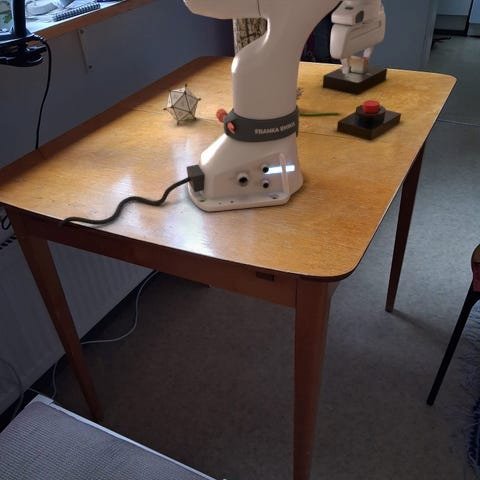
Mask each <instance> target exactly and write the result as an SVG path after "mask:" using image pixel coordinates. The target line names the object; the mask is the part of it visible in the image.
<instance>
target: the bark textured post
mask: <svg viewBox="0 0 480 480" xmlns="http://www.w3.org/2000/svg"><path fill="white" fill-rule="evenodd" d="M266 22H267V20H266V19H264V18H236V19H232V25H233V27H232V28H233V44H234V45H233V46H234V57H235V56H236V54H237V53H238V52H239V51H240V50H241V49H242V48H244V47H245V46H246V45H248V44H250V43H251V42H253V41H255V40H256V39H258V38H260V37H261V36H262V35H264V34H265V32H266V31H267V25H266V24H267V23H266Z"/></svg>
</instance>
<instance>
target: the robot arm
mask: <svg viewBox="0 0 480 480" xmlns="http://www.w3.org/2000/svg"><path fill="white" fill-rule="evenodd" d="M182 2H183V4H184V5H185V6H186V7H187V9H188V10H189V11H190V12H191V13H192V14H193V15H194V14H195V15H199V16H203V17H207V18H208V17H209V18H213V19H219V20H231V19H232V20H233V19H236V18H264V19H266V22H267V23H266V24H267V25H266V32H265V34H264V35H262V36H261V37H260V38H258V39H256V40H255V41H253V42H251V43H250V44H248V45H246V46H245V47H244V48H242V49H241V50H240V51H239V52H238V53H237V54H236V56H235V55H234V58H233V59H232V63H231V66H230V73H231V74H230V76H231V90H232V91H231V92H232V105H233V107H232V108H231V110H230V111H229V112H227V111H226V109H224V108H219V109H218V110H217V111H216V114H215V117H216V119H217V120H218V122H219V123H221V124H223V132H222V133H221V134H220V135H219V136H218V137H217V138H215V140H214V141H213V142H212V143H211V144H209V146H208V147H206V148H205V149H204V150H203V151H202V152H201V154H200V155H199V158H198V163H197V164H194V165H187V166H185V167H186V175H187V177H185V178H182V179H180V180H179V181H176V182H174V183H173V184H171V185H170V186H168V187H167V188H166V189H165V191H164V193H163V194H162V196H161V198H159V199H158V200H151V199H148V198H145V197H143V196H140V195H139V196H138V195H135V196H134V195H132V196H128V197H125V198H124V199H122V200H121V201H120V202H119V203H118V205H117V206H116V208H115V210H114V213H112V215H111V216H109V217H107V218H104V219H90V218H86V217H82V216H81V217H80V216H68V217H65V218H64V219H62V220H61V221H60V223H58V225H57V227H58V228H63V227H65V225H67V224H68V223H71V222H77V223H83V224H87V225H93V226H95V225H96V226H101V225H102V226H103V225H107V224H110V223H111V222H113V221H115V220H116V219H117V218H118V217H119V215H120V214H121V212H122V209H123V207H124V206H125V205H126V204H127V203H130V202H134V201H135V202H136V201H137V202H141V203H144V204H146V205H150V206H160V205H162V204H163V203H165V201H166V200H167V198H168V196H169V194H170V193H171V192H172V191H173V190H175V189H177V188H178V187H181V186H182V185H186V184H187V192H188V195H189V198H190V199H191V201H192V202H193V204H194V205H195V206H197V208H199V209H201V210H203V211H205V212H219V211H221V212H222V211H230V210H239V209H241V210H242V209H249V208H259V207H261V208H262V207H269V206H280V205H284V204H287V203H288V202H289V200H290V198H291V196H292V195H294V194H295V193H296V192H297V191H298V190H300V188H301V187H302V186H303V184H304V177H303V174H302V170H301V166H300V159H299V153H298V139H297V138H298V136H299V130H300V129H299V128H300V114H299V113H298V112H299V106H298V104H297V100H296V94H297V89H298V77H299V70H300V69H299V68H300V62H301V57H302V54H303V50H304V49H305V46H306V43H307V41H308V39H309V37H310V35H311V34H312V33H313V31H314V29H315V28H316V26H317V25H318V24H319V23H320V22H321V20H323V18H325V17H326V16H327V15H328V14H329V13H330V12H332V10H334V9H335V8H336V7H337V6H338V4H339V3H340V2H342V3H340V5H339V6H338V7H337V8H336V9H335V10H334V11H333V12H332V14H331V23H333V25H332V28H331V30H330V31H331V32H330V44H329V52H330V53H329V54H330V56H331V58H332V59H336V60H340V62H341V63H340V64H341V67H343V70H342V72H343V74H349V73H350V72H351V67H352V66H350V64H349V60H350V57H351V56H354V55H355V54H358V53H360V52H362V51H364V52H363V55H362V57H367V65H370V60H371V56H372V55H373V54H372V53H373V52H374V48H375V46H376V45H378V44H380V43H382V42H383V40H384V38H385V35H386V34H385V33H386V13H385V6H384V5H383V3H382V0H182ZM96 360H97V362H98V365H99V367H100V370H101V371H104V370H105V368H106V367H105V366H104V364H103V359H102V358H101V356H98V357H96Z"/></svg>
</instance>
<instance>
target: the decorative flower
mask: <svg viewBox="0 0 480 480" xmlns="http://www.w3.org/2000/svg"><path fill="white" fill-rule="evenodd" d="M303 93H304V90H303V87H297V94H296V101H299V100H301V99H300V98H301V96H302V95H303ZM298 113H299V116H306V117H314V116H330V115H331V116H337V115H339V112H319V113H318V112H317V113H304V112H300V111H298Z"/></svg>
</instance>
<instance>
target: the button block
mask: <svg viewBox="0 0 480 480" xmlns="http://www.w3.org/2000/svg"><path fill="white" fill-rule="evenodd" d="M362 109H363V104H360V105H358V106H357V107H355V111H354V112H352V113H350V114H349V115H347V116H345V117H343V118H341V119H339V120H337V125H336V126H337V127H336V131H337V132H339V133H342V134H346V135H350V136H354V137H356V138H360V139H363V140H367V141H372V140H374V139H376V138H377V137H379V136H380V135H383V134H385V133H386V132H387V131H389V130H391V129H392V128H394V127H396V126H397V125H399V124H400V122H401V117H402V113H401V112H397V111H394V110H388V109H386V107H385V106H383V105H379V111H378V112H375V113H367V112H363V111H362Z"/></svg>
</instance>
